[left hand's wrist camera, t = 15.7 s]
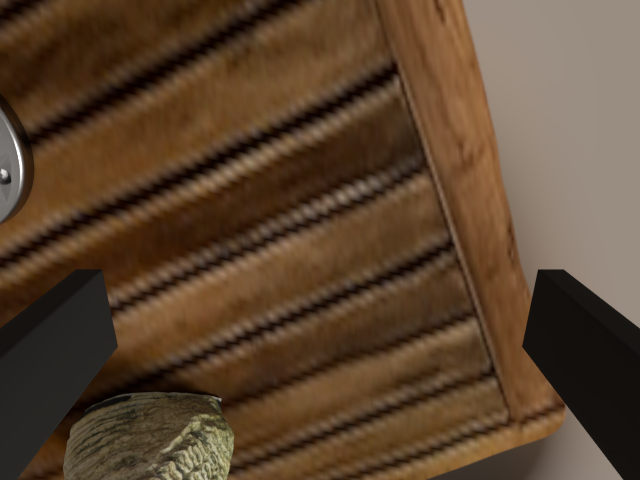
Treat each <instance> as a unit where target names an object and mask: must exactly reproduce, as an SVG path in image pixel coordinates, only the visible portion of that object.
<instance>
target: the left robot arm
mask: <svg viewBox="0 0 640 480" xmlns="http://www.w3.org/2000/svg"><path fill="white" fill-rule="evenodd" d="M33 179H34V160H33V154H32V149H31V145H30V142H29V139H28V136H27V134H26V131H25V129H24V127H23V125H22V123H21V121H20V120H19V118H18V116H17V115H16V113H15V112H14V110H13V109H12V108H11V106H10V105H9V104H8V102H7V101H6V100H5V99H4V98H3V97H2V96H1V94H0V225H1V224H3V223H5V222H7V221H8V220H10V219H11V218H12V217H14V216H15V215H16V214H17V213H18V212H19V211H20V210H21V208H22V207H23V206H24V204H25V203H26V201H27V199H28V197H29V194H30V192H31V189H32V185H33ZM117 347H118V345H117V340H116V335H115V330H114V326H113V321H112V316H111V311H110V306H109V301H108V297H107V292H106V287H105V282H104V277H103V272H102V270H75V271H74V272H73V273H71V274H70V275H69V276H67V277H66V278H65V279H64V280H62V281H61V282H60V283H58V284H57V285H56V286H54V287H53V288H52V289H51V290H49V291H48V292H47V293H45V294H44V295H43V296H42V297H40V298H39V299H38V300H36V301H35V302H34V303H33V304H31V305H30V306H29V307H27V308H26V309H25V310H24V311H22V312H21V313H20V314H18V315H17V316H16V317H14V318H13V319H12V320H11V321H9V322H8V323H7V324H5V325H4V326H3V327H2V328H0V480H17V479H18V477H19V476H20V475H21V473H22V472H23V471H24V469H25V468H26V467H27V465H28V464H29V463H30V461H31V460H32V459H33V458H34V456H35V455H36V454H37V452H38V451H39V450H40V448H41V447H42V446H43V444H44V443H45V442H46V440H47V439H48V438H49V437H50V435H51V434H52V433H53V431H54V430H55V429H56V427H57V426H58V425H59V423H60V422H61V421H62V419H63V418H64V417H65V415H66V414H67V413H68V412H69V410H70V409H71V408H72V406H73V405H74V404H75V402H76V401H77V400H78V398H79V397H80V396H81V394H82V393H83V392H84V390H85V389H86V388H87V387H88V385H89V384H90V383H91V381H92V380H93V379H94V377H95V376H96V375H97V373H98V372H99V371H100V369H101V368H102V367H103V366H104V364H105V363H106V362H107V360H108V359H109V358H110V356H111V355H112V354H113V352H114V351H115V350H116V348H117ZM522 347H523V348H524V350H525V351H526V352H527V354H528V355H529V356H530V358H531V359H532V360H533V362H534V363H535V364H536V366H537V367H538V368H539V369H540V371H541V372H542V373H543V375H544V376H545V377H546V379H547V380H548V381H549V383H550V384H551V385H552V387H553V388H554V389H555V390H556V392H557V393H558V394H559V396H560V397H561V398H562V400H563V401H564V402H565V404H566V405H567V406H568V408H569V409H570V410H571V411H572V413H573V414H574V415H575V417H576V418H577V419H578V421H579V422H580V423H581V425H582V426H583V427H584V429H585V430H586V431H587V433H588V434H589V435H590V437H591V438H592V439H593V440H594V442H595V443H596V444H597V446H598V447H599V448H600V450H601V451H602V452H603V454H604V455H605V456H606V457H607V459H608V460H609V461H610V463H611V464H612V465H613V467H614V468H615V469H616V471H617V472H618V473H619V475H620V476H621V477H622V479H623V480H640V328H638V327H637V326H636V325H635V324H633V323H632V322H631V321H629V320H628V319H627V318H625V317H624V316H623V315H622V314H620V313H619V312H618V311H616V310H615V309H614V308H613V307H611V306H610V305H609V304H607V303H606V302H605V301H603V300H602V299H601V298H600V297H598V296H597V295H596V294H595V293H593V292H592V291H591V290H589V289H588V288H587V287H586V286H584V285H583V284H582V283H580V282H579V281H578V280H576V279H575V278H574V277H573V276H571V275H570V274H569V273H567V272H566V271H565V270H538V272H537V277H536V282H535V287H534V292H533V297H532V301H531V306H530V311H529V316H528V321H527V326H526V330H525V335H524V340H523V345H522Z"/></svg>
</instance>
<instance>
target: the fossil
mask: <svg viewBox="0 0 640 480" xmlns="http://www.w3.org/2000/svg"><path fill="white" fill-rule="evenodd" d="M220 404H221V399H220V398H217V397H214V396H210V395H198V394H191V393H177V392H172V393H163V392H143V393H130V394H123V395H118V396H115V397H113V398H110V399H107V400H105V401H103V402H101V403H98V404H95V405H93V406H91V407H90V408H88V409H87V410H85V412H84V414H83V415H82V417H81V418H80V419H79V420H78V421H77V422H76V423H74V424H73V425H72V427H71V430H70V438H69V440H68V441H67V449H66V454H65V459H64V462H65V463H64V466H63V470H64V475H65V480H226V479H227V474H228V472H229V468H230V463H231V457H232V453H233V446H234V433H233V431H232V428H231V427H230V426H229V424H228V423H227V422H226V421H225V420H224V418H223V416H222V415H221V407H220Z"/></svg>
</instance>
